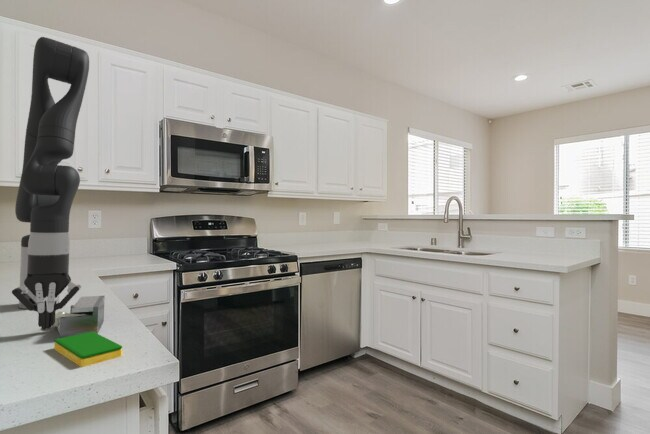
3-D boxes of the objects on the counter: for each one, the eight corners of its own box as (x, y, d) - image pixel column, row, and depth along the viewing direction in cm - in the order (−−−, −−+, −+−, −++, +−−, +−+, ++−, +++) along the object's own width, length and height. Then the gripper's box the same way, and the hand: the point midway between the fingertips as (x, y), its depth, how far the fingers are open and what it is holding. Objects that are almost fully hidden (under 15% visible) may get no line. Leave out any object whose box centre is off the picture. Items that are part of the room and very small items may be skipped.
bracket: (70, 323, 90) (71, 297, 90) (103, 320, 93) (104, 295, 93) (59, 338, 79) (60, 308, 79) (97, 335, 82) (98, 306, 82)
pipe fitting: (68, 338, 81) (93, 327, 88) (68, 321, 81) (92, 311, 88) (39, 335, 83) (65, 324, 89) (38, 318, 83) (64, 309, 89)
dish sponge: (92, 342, 79) (93, 330, 79) (122, 358, 71) (123, 345, 71) (53, 350, 73) (54, 338, 73) (81, 369, 65) (81, 356, 65)
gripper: (86, 250, 89) (83, 321, 89) (18, 250, 84) (15, 326, 83) (80, 253, 82) (77, 330, 82) (6, 254, 77) (3, 336, 77)
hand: (46, 327), depth 83 cm, fingers closed
